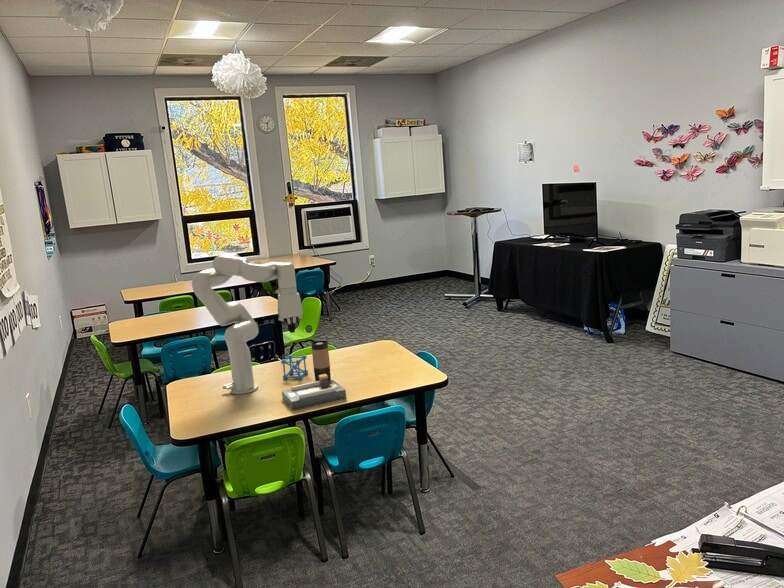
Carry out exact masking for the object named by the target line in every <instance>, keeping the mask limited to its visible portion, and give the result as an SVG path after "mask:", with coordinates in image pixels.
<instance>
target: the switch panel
mask: <svg viewBox="0 0 784 588" xmlns="http://www.w3.org/2000/svg"><path fill="white" fill-rule="evenodd" d="M328 386H329V388H324V389H322V388H321V387H320V383H319V381H316V382H315V381H312V382H307V383H303V384H299V385H292V386H290V388H289V389H284V390H281V396H282V400H284V401H285V402H286V403H285V402H284V401H283V402H284V403H285V404H286V405H287V406H288V408H289V409H290V408H291V409H292V410H294V411H299V410H302V409H306V408H311V407H316V406H319V405H324V403H325V404H328V402H329V403H333V402H337V400H338V401H341V399H342V400H346V399H347V391H346V388H344V386H342V385H340V384H339V383H338V382H336V380H334V379H331V380H330V381H328ZM315 405H316V406H315ZM291 409H290V410H291ZM292 410H291V411H292Z"/></svg>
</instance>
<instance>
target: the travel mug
mask: <svg viewBox="0 0 784 588" xmlns="http://www.w3.org/2000/svg"><path fill="white" fill-rule="evenodd" d="M311 354H312V355H311V356H312V364H313V372H314V373H313V374H314V382H316V381H319V375H322V374H326V375H328V381H330V380H332V379H331V378H332V377H331V376H332V375H331V364H330V363H331V361H330V352H329V344H328V341H327V340H316V341H313V342H311Z"/></svg>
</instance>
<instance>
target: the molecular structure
mask: <svg viewBox="0 0 784 588" xmlns="http://www.w3.org/2000/svg"><path fill="white" fill-rule="evenodd" d="M292 359H296V360H295V361H293V360H292ZM306 359H307V355H306V354H302V355H301V356H293V355H291V354H288V355H287V358H286V359H281V360H280V364H282V369H283V375H282V379H283V380H287V379H298V380H302V379H303V376H304V375H308V373H309V370H308V369H307V367H306V366H307V364H306ZM302 361H303V367H304V370H303V369H302V368H300V364H301V363H302ZM285 364H286V365H287V366H289V368H290V369H289V371H288V372H287V374H286V365H285ZM294 373H295V374H297V376H296V375H295V376H293V375H294ZM290 375H291V376H290Z"/></svg>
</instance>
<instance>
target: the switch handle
mask: <svg viewBox="0 0 784 588" xmlns="http://www.w3.org/2000/svg"><path fill="white" fill-rule="evenodd" d="M319 383H320V387H321V388H322V389H324V388H329V386H328V375H326V374H322V375H319Z"/></svg>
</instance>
